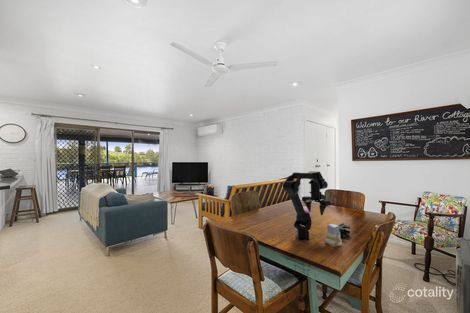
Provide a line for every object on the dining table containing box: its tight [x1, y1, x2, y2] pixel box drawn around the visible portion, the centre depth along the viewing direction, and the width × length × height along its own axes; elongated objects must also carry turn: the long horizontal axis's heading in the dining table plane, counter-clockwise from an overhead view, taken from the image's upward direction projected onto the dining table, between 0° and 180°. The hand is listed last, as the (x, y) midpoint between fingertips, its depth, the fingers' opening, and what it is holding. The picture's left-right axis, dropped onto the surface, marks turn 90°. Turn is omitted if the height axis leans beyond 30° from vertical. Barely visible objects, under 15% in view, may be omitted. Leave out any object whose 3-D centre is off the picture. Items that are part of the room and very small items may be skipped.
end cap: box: [337, 222, 351, 240], centre depth 128 cm, size 10×7×7 cm
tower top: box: [325, 231, 341, 241], centre depth 116 cm, size 6×6×4 cm
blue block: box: [326, 223, 339, 234], centre depth 116 cm, size 4×4×4 cm
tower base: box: [324, 236, 343, 248], centre depth 116 cm, size 6×6×4 cm
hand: (315, 213), depth 132 cm, fingers open, 9 cm apart
